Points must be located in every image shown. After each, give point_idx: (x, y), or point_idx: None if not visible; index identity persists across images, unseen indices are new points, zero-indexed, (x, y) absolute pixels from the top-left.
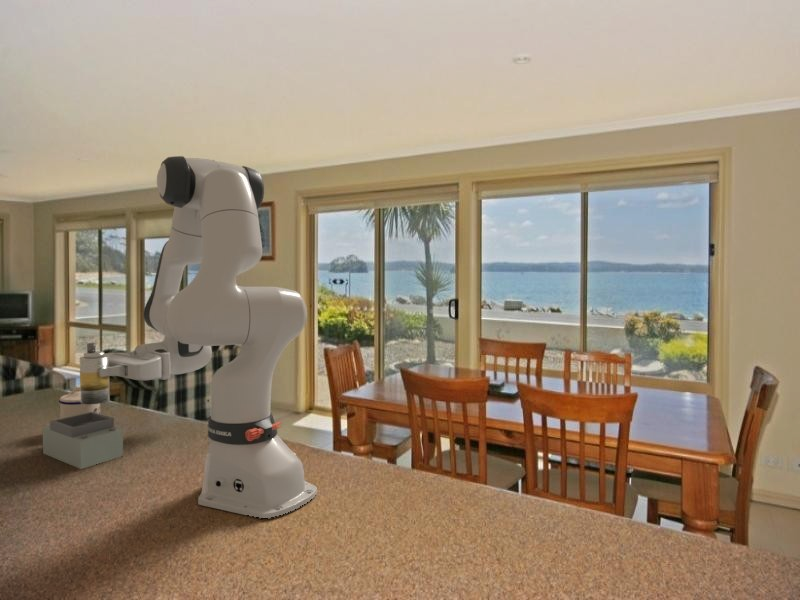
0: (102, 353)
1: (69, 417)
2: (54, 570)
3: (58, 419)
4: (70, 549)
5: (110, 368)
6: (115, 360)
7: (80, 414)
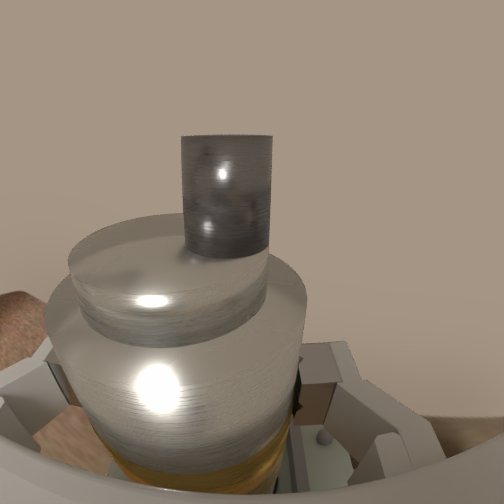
0: (69, 260)
1: (294, 455)
2: (6, 305)
3: (297, 428)
4: (7, 319)
5: (23, 365)
6: (58, 470)
7: (308, 490)
